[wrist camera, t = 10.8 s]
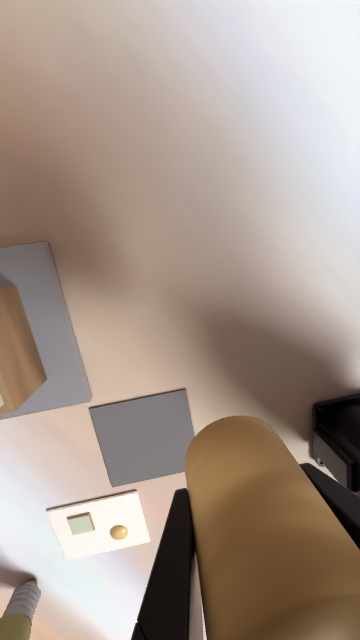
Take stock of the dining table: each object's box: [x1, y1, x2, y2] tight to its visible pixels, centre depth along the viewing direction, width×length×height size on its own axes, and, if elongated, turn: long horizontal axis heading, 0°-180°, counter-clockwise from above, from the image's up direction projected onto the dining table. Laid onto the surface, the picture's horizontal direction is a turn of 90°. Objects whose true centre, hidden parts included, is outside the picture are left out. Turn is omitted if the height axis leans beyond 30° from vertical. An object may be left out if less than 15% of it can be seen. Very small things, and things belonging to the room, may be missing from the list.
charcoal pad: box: [89, 389, 194, 487], centre depth 20 cm, size 8×8×1 cm
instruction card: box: [47, 491, 150, 561], centre depth 22 cm, size 8×6×1 cm
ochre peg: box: [184, 416, 360, 640], centre depth 7 cm, size 4×4×5 cm
